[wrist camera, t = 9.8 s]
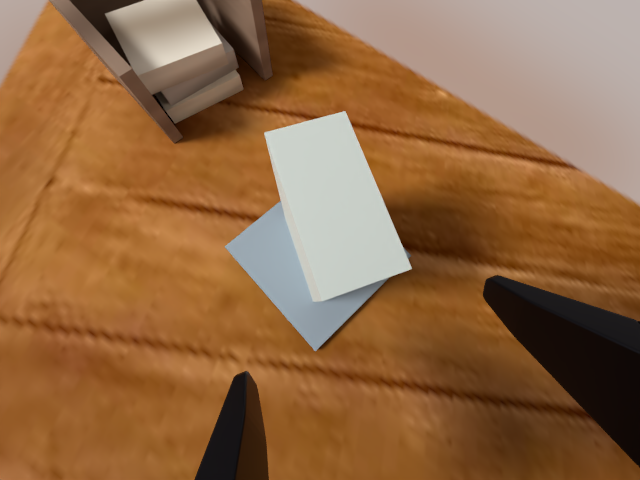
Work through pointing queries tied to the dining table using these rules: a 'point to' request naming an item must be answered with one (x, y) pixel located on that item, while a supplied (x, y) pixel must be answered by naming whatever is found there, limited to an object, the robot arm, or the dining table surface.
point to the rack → (95, 30)
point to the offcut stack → (177, 54)
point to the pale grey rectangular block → (333, 207)
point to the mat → (292, 278)
